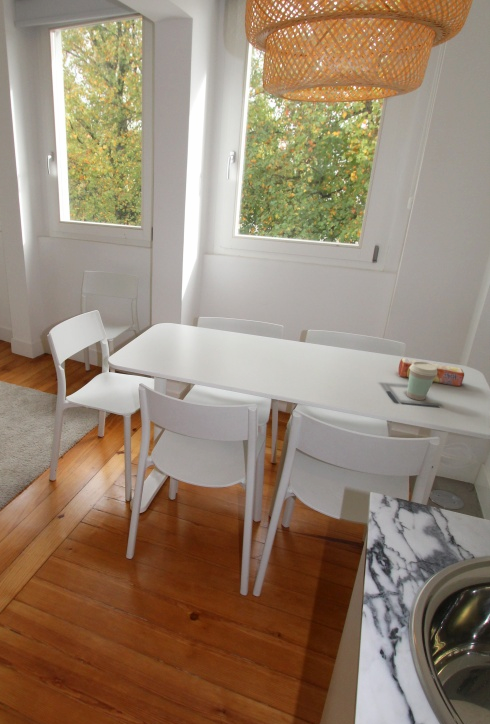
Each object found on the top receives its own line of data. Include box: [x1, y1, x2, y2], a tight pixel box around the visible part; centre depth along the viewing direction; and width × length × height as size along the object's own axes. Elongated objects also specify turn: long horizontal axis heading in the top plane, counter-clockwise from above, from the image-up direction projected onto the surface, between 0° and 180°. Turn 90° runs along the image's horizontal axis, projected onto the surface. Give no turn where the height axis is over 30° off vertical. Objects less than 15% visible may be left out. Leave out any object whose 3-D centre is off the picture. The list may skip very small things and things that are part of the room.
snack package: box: [398, 357, 465, 387], centre depth 178 cm, size 21×7×7 cm, turn 67°
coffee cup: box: [406, 360, 438, 401], centre depth 163 cm, size 8×8×12 cm
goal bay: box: [386, 390, 441, 409], centre depth 166 cm, size 16×14×1 cm
